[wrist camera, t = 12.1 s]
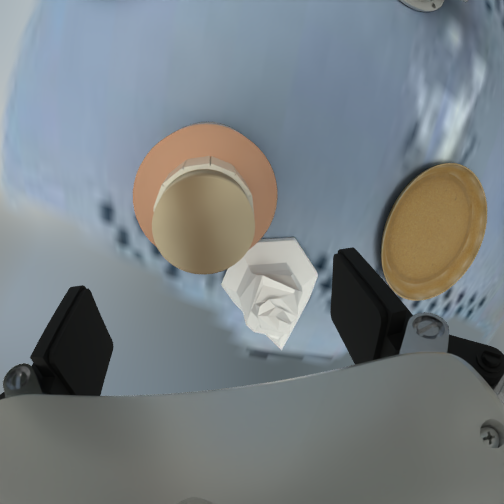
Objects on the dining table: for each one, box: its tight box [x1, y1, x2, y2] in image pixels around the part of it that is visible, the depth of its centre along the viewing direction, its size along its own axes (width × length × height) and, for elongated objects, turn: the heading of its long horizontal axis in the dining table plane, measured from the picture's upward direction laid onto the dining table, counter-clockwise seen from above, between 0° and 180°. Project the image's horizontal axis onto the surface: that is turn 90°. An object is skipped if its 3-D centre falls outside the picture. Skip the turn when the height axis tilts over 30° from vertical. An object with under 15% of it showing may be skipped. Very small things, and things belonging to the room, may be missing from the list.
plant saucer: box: [381, 163, 487, 301], centre depth 43 cm, size 24×24×3 cm
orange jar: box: [133, 122, 277, 249], centre depth 30 cm, size 13×13×15 cm
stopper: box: [152, 169, 255, 274], centre depth 23 cm, size 7×7×6 cm
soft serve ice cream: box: [221, 237, 318, 350], centre depth 38 cm, size 12×15×14 cm
